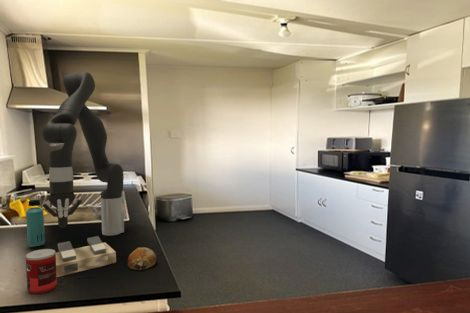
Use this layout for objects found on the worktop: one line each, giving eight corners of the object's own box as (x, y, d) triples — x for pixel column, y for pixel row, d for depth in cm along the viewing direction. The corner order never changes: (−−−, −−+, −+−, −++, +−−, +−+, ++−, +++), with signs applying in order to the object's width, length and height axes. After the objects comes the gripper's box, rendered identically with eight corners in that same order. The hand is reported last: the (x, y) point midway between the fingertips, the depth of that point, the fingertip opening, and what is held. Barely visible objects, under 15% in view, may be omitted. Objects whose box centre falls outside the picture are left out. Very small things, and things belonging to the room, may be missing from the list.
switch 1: (69, 245, 118) (70, 240, 118) (76, 260, 111) (76, 255, 110) (57, 248, 116) (57, 243, 115) (62, 263, 108) (63, 258, 108)
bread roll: (159, 272, 117) (163, 250, 120) (143, 271, 108) (149, 247, 111) (136, 269, 120) (141, 247, 123) (119, 267, 111) (125, 244, 114)
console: (105, 252, 128) (105, 242, 127) (116, 262, 117) (116, 252, 117) (48, 264, 115) (47, 254, 115) (54, 278, 105) (54, 266, 104)
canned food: (35, 282, 102) (33, 249, 101) (61, 281, 102) (60, 248, 102) (21, 294, 94) (19, 258, 93) (49, 293, 95) (48, 257, 94)
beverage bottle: (37, 250, 129) (34, 202, 128) (23, 249, 130) (20, 201, 129) (49, 245, 136) (47, 198, 134) (36, 244, 137) (33, 198, 135)
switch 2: (98, 240, 124) (98, 235, 124) (106, 253, 117) (106, 248, 116) (87, 242, 122) (87, 237, 121) (94, 256, 114) (94, 250, 114)
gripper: (79, 176, 121) (80, 221, 122) (38, 179, 113) (40, 227, 114) (84, 179, 115) (85, 226, 116) (41, 182, 107) (43, 233, 108)
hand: (62, 227), depth 115 cm, fingers closed
